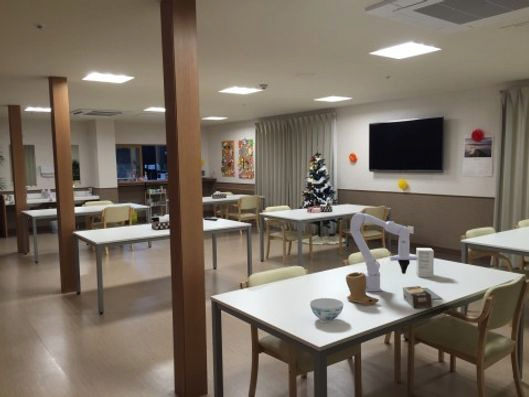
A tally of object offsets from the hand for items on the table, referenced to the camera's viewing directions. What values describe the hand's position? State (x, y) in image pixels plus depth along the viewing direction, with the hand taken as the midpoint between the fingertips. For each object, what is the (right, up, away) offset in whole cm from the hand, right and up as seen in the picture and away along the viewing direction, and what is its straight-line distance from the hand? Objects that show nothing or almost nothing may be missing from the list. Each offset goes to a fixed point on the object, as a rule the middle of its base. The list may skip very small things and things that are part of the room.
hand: (403, 273), depth 237 cm
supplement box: (+24, -8, +35) cm, 43 cm away
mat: (+10, -10, -4) cm, 15 cm away
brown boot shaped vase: (-27, -12, -16) cm, 34 cm away
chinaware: (-48, -14, -41) cm, 64 cm away
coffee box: (0, -8, -12) cm, 14 cm away
